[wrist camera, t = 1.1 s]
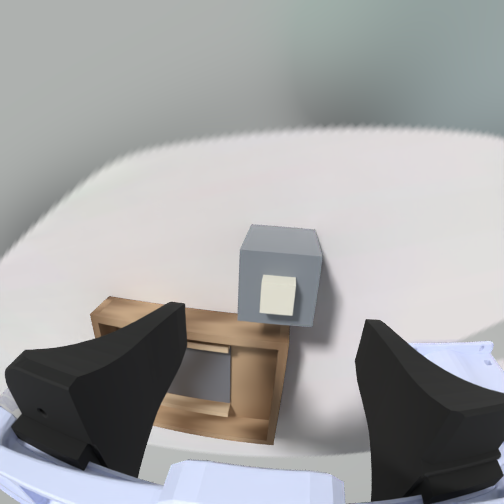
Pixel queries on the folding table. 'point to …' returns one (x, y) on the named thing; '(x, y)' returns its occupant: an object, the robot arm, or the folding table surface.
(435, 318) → the folding table surface
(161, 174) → the folding table surface
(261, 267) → the plug
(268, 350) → the caddy
